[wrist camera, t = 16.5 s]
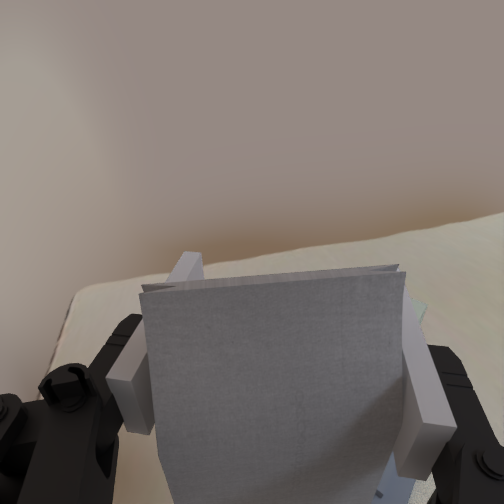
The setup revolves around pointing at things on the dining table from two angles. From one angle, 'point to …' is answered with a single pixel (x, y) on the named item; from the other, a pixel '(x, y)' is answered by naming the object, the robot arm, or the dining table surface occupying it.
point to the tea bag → (276, 384)
